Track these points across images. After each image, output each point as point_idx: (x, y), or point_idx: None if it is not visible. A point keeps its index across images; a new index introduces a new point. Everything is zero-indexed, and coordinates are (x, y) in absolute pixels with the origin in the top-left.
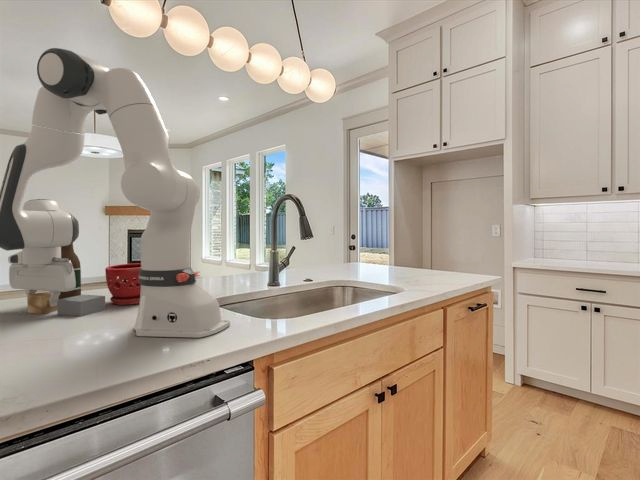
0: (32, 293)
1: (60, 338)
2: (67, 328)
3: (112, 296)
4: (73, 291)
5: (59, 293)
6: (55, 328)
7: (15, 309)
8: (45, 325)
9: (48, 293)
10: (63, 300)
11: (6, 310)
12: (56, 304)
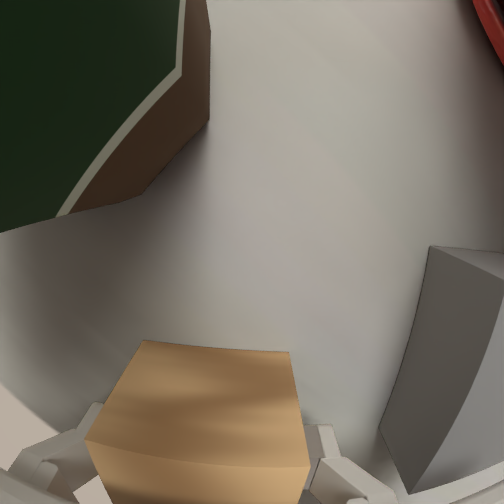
0: (61, 473)
1: None
2: (496, 477)
3: (494, 12)
4: (190, 79)
5: (392, 499)
6: (469, 492)
7: (11, 365)
8: (430, 500)
9: (227, 499)
10: (452, 480)
11: (6, 386)
12: (331, 429)
